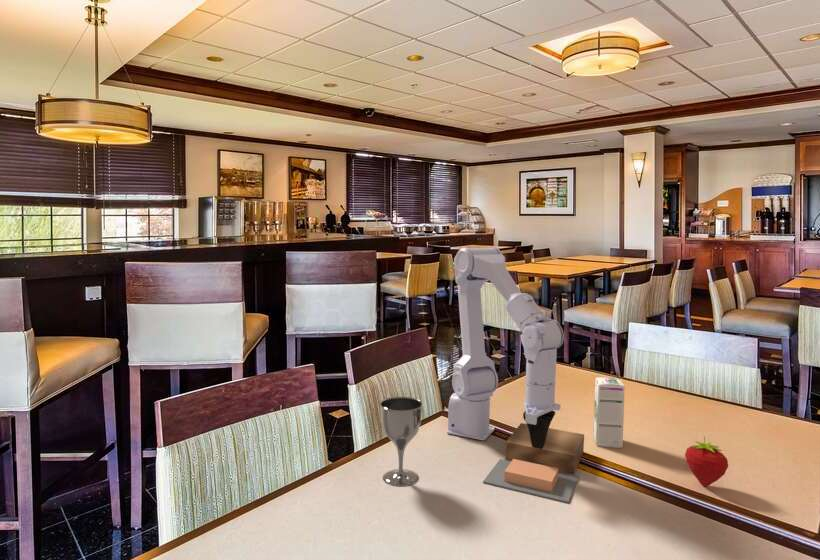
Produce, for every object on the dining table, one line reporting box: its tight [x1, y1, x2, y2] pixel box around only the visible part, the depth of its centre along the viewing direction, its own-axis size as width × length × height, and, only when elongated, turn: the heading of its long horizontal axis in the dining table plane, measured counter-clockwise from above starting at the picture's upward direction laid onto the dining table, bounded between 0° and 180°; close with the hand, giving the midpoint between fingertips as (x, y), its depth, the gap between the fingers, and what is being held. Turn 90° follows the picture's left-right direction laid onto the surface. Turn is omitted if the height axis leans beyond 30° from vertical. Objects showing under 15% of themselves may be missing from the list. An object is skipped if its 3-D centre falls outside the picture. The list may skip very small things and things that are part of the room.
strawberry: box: [684, 436, 729, 487], centre depth 101 cm, size 6×8×10 cm
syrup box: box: [593, 376, 626, 449], centre depth 120 cm, size 6×6×14 cm
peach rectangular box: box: [504, 459, 558, 492], centre depth 102 cm, size 9×6×2 cm, turn 63°
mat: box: [482, 458, 579, 504], centre depth 103 cm, size 16×11×1 cm
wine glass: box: [380, 396, 423, 487], centre depth 103 cm, size 8×8×15 cm
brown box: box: [504, 422, 585, 475], centre depth 113 cm, size 14×12×4 cm
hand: (538, 446), depth 107 cm, fingers closed
